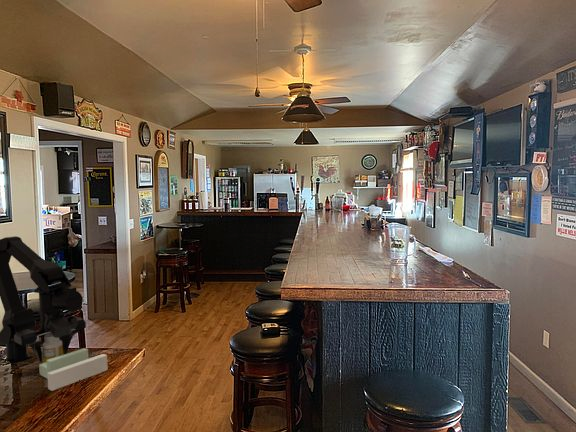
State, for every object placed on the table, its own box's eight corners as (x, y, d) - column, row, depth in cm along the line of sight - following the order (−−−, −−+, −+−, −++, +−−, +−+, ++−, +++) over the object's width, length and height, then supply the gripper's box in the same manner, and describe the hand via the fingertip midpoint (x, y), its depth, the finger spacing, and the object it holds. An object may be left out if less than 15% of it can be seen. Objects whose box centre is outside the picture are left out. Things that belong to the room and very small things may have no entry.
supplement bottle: (58, 360, 134) (56, 330, 133) (66, 364, 130) (65, 334, 130) (40, 366, 129) (38, 335, 129) (48, 371, 126) (46, 339, 125)
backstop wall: (48, 388, 115) (47, 372, 114) (103, 368, 128) (103, 353, 127) (51, 391, 114) (50, 374, 113) (107, 370, 126) (107, 355, 126)
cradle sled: (39, 374, 123) (38, 356, 123) (77, 361, 132) (76, 344, 132) (50, 380, 119) (49, 361, 119) (88, 367, 128) (88, 349, 128)
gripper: (28, 320, 116) (31, 375, 117) (94, 304, 131) (96, 353, 132) (11, 313, 123) (14, 365, 124) (76, 299, 138) (78, 346, 139)
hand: (53, 357), depth 130 cm, fingers open, 7 cm apart
